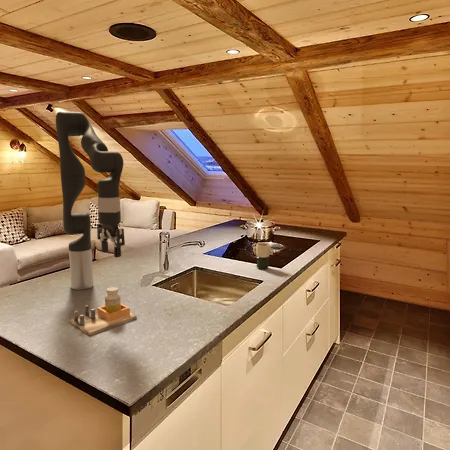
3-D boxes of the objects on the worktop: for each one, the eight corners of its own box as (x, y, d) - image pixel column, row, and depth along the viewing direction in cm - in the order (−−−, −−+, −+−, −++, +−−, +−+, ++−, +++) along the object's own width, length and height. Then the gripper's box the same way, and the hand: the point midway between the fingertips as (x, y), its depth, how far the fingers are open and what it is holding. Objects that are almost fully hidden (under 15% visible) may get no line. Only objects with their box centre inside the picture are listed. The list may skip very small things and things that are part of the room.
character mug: (274, 267, 195) (275, 244, 193) (270, 271, 189) (270, 247, 187) (255, 265, 200) (256, 241, 198) (250, 268, 194) (251, 244, 191)
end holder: (97, 314, 133) (97, 307, 133) (117, 307, 139) (117, 301, 138) (109, 321, 128) (109, 314, 127) (129, 314, 133) (129, 307, 133)
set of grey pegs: (71, 319, 129) (70, 310, 128) (88, 314, 133) (87, 305, 132) (81, 326, 124) (80, 316, 123) (98, 320, 128) (98, 310, 127)
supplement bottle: (118, 317, 131) (117, 291, 129) (103, 317, 131) (102, 291, 129) (122, 311, 136) (121, 286, 134) (108, 310, 136) (107, 286, 134)
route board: (70, 322, 129) (69, 319, 128) (115, 307, 142) (115, 304, 142) (89, 335, 119) (89, 332, 119) (136, 318, 132) (136, 315, 132)
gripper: (89, 208, 130) (91, 252, 133) (110, 213, 120) (112, 260, 124) (108, 206, 135) (110, 248, 138) (130, 211, 126) (131, 256, 129)
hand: (111, 254), depth 131 cm, fingers open, 8 cm apart
